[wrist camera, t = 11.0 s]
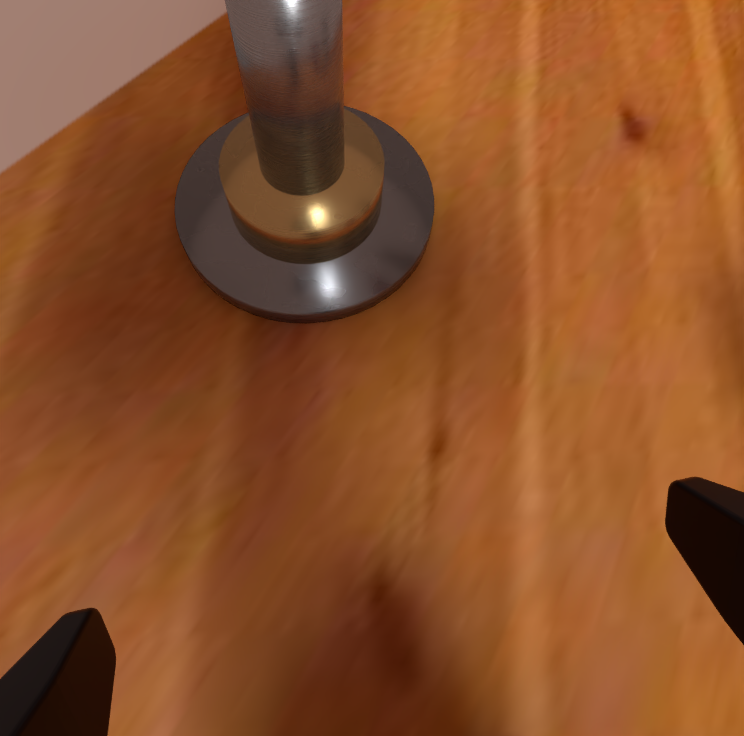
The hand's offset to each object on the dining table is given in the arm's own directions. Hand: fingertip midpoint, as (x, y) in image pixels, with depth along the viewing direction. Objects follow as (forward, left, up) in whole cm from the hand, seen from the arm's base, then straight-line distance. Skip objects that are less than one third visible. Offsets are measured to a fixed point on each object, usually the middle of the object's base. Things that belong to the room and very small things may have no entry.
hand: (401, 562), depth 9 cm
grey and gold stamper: (+14, -10, -13) cm, 21 cm away
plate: (+14, -10, -14) cm, 22 cm away
